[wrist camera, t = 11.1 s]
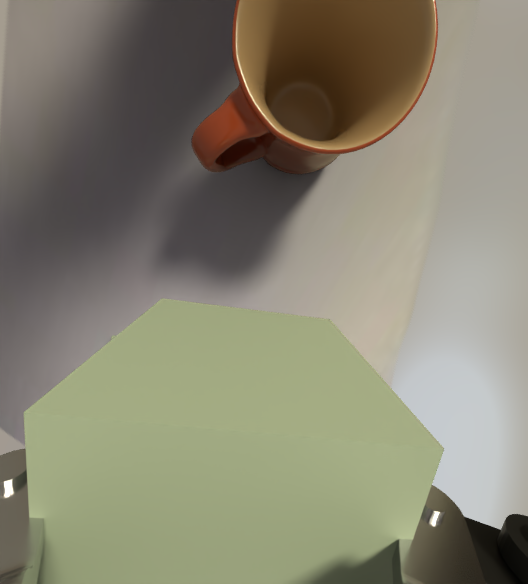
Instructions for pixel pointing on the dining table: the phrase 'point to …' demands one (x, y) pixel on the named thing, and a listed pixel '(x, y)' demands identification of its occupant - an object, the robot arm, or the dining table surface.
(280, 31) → the mug
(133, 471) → the pale green cube
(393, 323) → the dining table surface
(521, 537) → the robot arm
